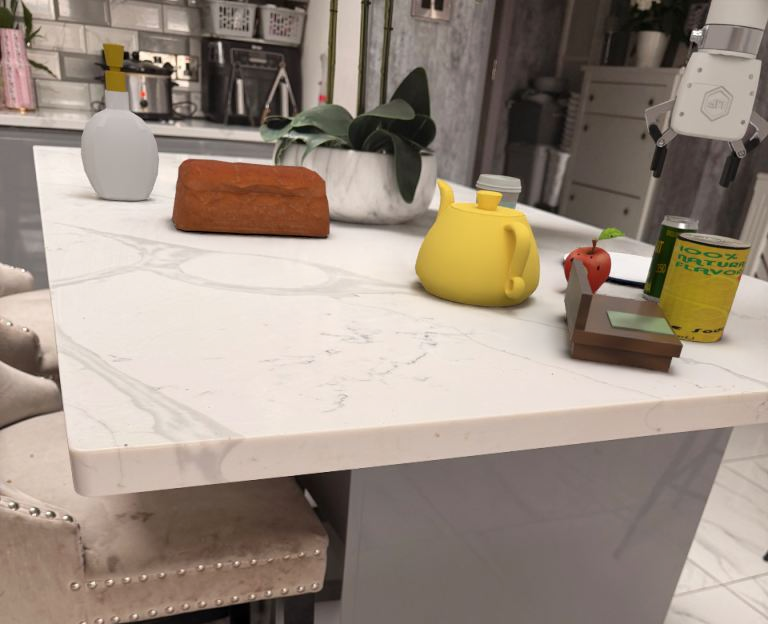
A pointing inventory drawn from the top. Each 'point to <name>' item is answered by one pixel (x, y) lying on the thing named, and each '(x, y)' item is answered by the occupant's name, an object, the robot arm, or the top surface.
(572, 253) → the apple
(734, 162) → the robot arm
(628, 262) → the plate
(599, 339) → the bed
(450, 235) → the teapot
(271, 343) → the top surface
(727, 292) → the beverage can
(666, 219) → the beer can
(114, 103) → the white rounded bottle
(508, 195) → the coffee cup
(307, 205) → the bread
